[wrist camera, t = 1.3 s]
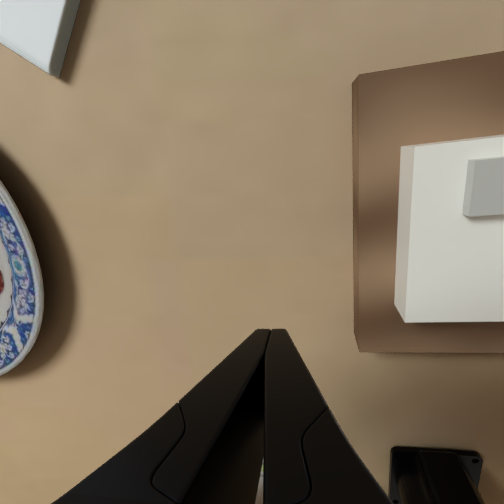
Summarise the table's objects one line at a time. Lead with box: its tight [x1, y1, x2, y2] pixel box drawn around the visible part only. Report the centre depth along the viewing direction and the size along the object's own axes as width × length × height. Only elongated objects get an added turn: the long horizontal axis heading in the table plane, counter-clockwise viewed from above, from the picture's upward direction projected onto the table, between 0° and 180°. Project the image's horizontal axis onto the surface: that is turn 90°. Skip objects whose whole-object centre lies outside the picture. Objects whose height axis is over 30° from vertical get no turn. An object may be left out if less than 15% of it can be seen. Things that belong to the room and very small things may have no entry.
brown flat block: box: [352, 51, 504, 353], centre depth 17 cm, size 16×12×2 cm
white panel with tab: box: [394, 135, 504, 323], centre depth 15 cm, size 9×6×3 cm, turn 6°
